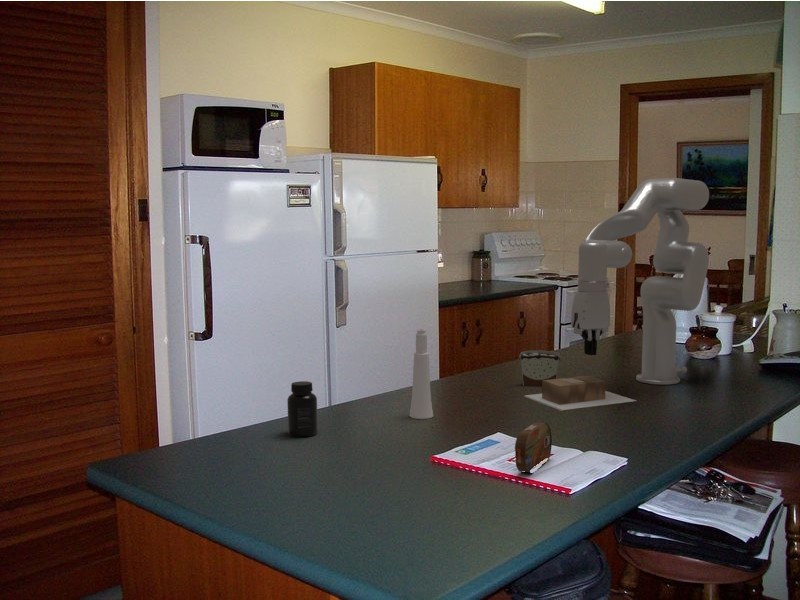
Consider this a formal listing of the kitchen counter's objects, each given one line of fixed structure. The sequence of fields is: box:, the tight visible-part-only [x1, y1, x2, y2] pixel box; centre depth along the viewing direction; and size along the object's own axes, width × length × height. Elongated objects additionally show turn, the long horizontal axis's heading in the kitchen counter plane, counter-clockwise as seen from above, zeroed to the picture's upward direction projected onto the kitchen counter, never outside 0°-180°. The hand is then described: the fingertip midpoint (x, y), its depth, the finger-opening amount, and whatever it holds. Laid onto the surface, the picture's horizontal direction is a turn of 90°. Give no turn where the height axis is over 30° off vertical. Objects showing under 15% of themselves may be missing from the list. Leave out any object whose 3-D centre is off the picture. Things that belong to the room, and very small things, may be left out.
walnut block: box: [541, 375, 607, 405], centre depth 222 cm, size 5×8×15 cm
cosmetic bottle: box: [408, 328, 434, 420], centre depth 204 cm, size 6×6×22 cm
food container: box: [518, 350, 562, 387], centre depth 240 cm, size 12×6×10 cm, turn 84°
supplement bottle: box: [286, 380, 319, 438], centre depth 189 cm, size 7×7×12 cm
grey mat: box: [524, 390, 637, 412], centre depth 223 cm, size 24×18×1 cm
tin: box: [514, 422, 553, 472], centre depth 164 cm, size 15×3×8 cm, turn 150°
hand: (590, 354), depth 223 cm, fingers closed
